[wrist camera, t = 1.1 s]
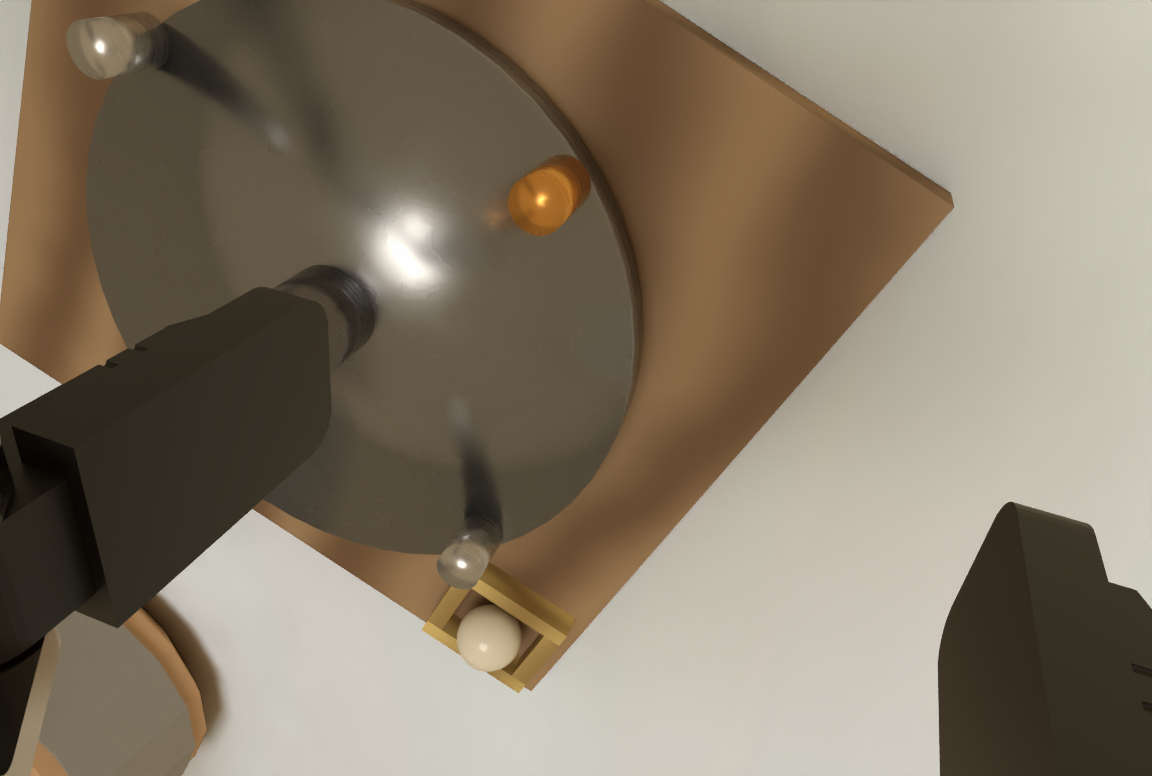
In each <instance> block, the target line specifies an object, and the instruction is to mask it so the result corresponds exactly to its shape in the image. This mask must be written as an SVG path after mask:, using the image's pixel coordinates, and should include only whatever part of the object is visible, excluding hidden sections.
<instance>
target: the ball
mask: <svg viewBox="0 0 1152 776" xmlns="http://www.w3.org/2000/svg"><path fill="white" fill-rule="evenodd" d="M521 639H522V634H521V628H520V625H519V623H518V621H517V619H516V618H515V617H514V616H513V615H511V614H510V613H508V612H507V611H505V610H504V609H502V608H501V607H499V606H497V605H493V604H487V605H482V606H479V607H476V608H474V609H473V610H471V611H470V612H469V613H468V614H467V615H466V616H465V617H464V618H463V620H462V621H461V623H460V625H459V628H458V631H457V646H458V650H459V653H460V655H461V657H462V658H463V659H464V661H465V662H466V663H467V664H468V665H470V666H471V667H473V668H474V669H477V670H480V671H485V672H491V671H497V670H500V669H502V668H504V667H506V666H507V665H508V664H510V663H511V662H512V661H513V660H514V658H515V657H516V655H517V654H518V651H519V649H520V646H521Z"/></svg>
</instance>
